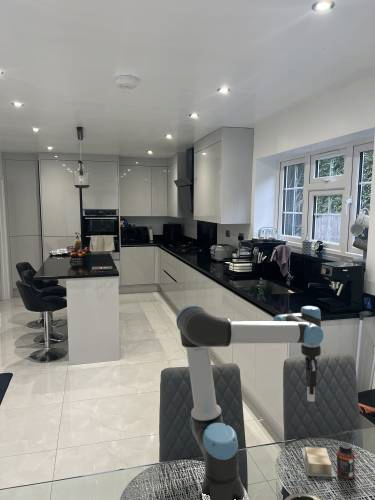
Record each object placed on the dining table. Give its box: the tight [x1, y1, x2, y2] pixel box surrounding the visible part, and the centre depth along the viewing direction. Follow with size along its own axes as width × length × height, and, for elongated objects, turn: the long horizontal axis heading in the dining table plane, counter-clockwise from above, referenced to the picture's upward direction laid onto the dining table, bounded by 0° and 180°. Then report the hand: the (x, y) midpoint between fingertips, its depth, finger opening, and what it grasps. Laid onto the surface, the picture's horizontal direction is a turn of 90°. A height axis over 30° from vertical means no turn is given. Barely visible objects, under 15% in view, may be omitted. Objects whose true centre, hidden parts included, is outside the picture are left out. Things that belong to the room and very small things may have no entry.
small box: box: [304, 446, 333, 474], centre depth 140 cm, size 8×4×10 cm
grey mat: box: [300, 447, 337, 478], centre depth 142 cm, size 10×16×1 cm, turn 172°
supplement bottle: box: [336, 441, 356, 480], centre depth 134 cm, size 6×6×11 cm
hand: (310, 400), depth 149 cm, fingers closed
